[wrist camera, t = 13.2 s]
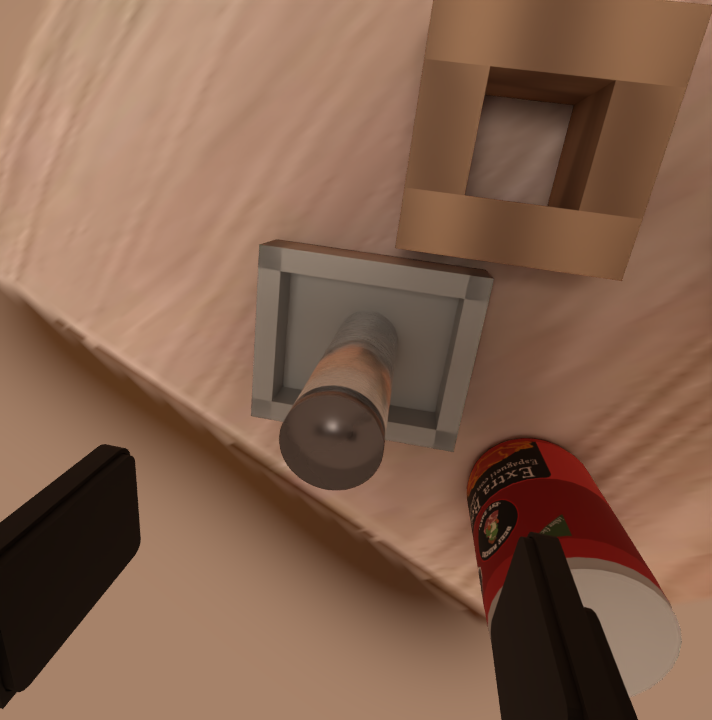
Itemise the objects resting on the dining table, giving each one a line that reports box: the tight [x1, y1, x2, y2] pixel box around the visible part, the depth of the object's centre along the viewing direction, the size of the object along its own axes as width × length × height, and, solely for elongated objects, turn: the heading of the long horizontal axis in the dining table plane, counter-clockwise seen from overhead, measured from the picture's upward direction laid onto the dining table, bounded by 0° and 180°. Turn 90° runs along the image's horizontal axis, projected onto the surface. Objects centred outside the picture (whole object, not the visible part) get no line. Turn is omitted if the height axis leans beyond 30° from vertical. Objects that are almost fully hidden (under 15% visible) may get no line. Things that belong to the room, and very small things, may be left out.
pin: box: [279, 311, 398, 490], centre depth 21 cm, size 4×4×12 cm
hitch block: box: [395, 0, 712, 281], centre depth 21 cm, size 10×10×5 cm
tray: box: [251, 239, 494, 452], centre depth 26 cm, size 12×10×3 cm
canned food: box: [467, 438, 682, 697], centre depth 24 cm, size 8×8×11 cm
